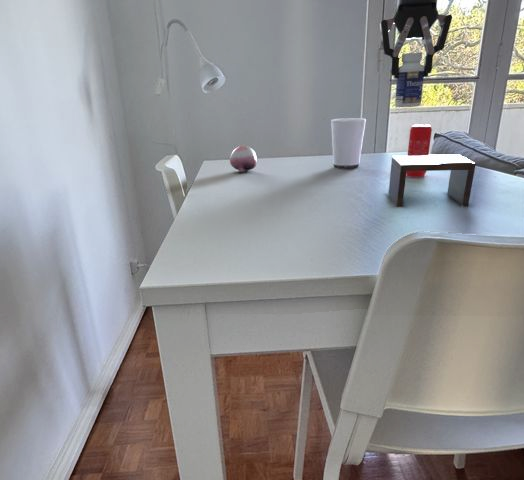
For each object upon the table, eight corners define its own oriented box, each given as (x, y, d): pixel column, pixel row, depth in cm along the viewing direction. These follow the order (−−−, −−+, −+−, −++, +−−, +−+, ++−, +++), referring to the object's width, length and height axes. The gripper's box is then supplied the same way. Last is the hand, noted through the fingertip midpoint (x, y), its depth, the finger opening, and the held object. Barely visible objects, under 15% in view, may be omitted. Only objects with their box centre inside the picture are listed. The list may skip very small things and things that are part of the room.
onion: (260, 169, 141) (259, 143, 137) (253, 174, 134) (252, 147, 131) (234, 169, 142) (233, 144, 139) (227, 174, 136) (225, 147, 132)
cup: (369, 166, 140) (372, 118, 133) (350, 170, 134) (353, 121, 127) (341, 163, 146) (344, 117, 139) (322, 167, 140) (323, 120, 133)
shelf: (452, 193, 104) (459, 153, 100) (468, 205, 94) (476, 162, 90) (388, 194, 105) (392, 155, 101) (396, 206, 95) (401, 163, 91)
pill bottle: (405, 107, 98) (409, 52, 93) (389, 107, 102) (393, 54, 97) (426, 105, 100) (431, 51, 95) (410, 105, 104) (414, 53, 99)
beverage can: (402, 176, 123) (407, 126, 117) (409, 173, 127) (414, 124, 121) (421, 178, 120) (428, 126, 114) (428, 174, 124) (435, 124, 118)
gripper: (382, -25, 88) (377, 80, 96) (463, -32, 86) (450, 75, 94) (378, -18, 94) (373, 80, 102) (453, -25, 92) (442, 75, 101)
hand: (410, 77), depth 98 cm, fingers closed on pill bottle, 5 cm apart
